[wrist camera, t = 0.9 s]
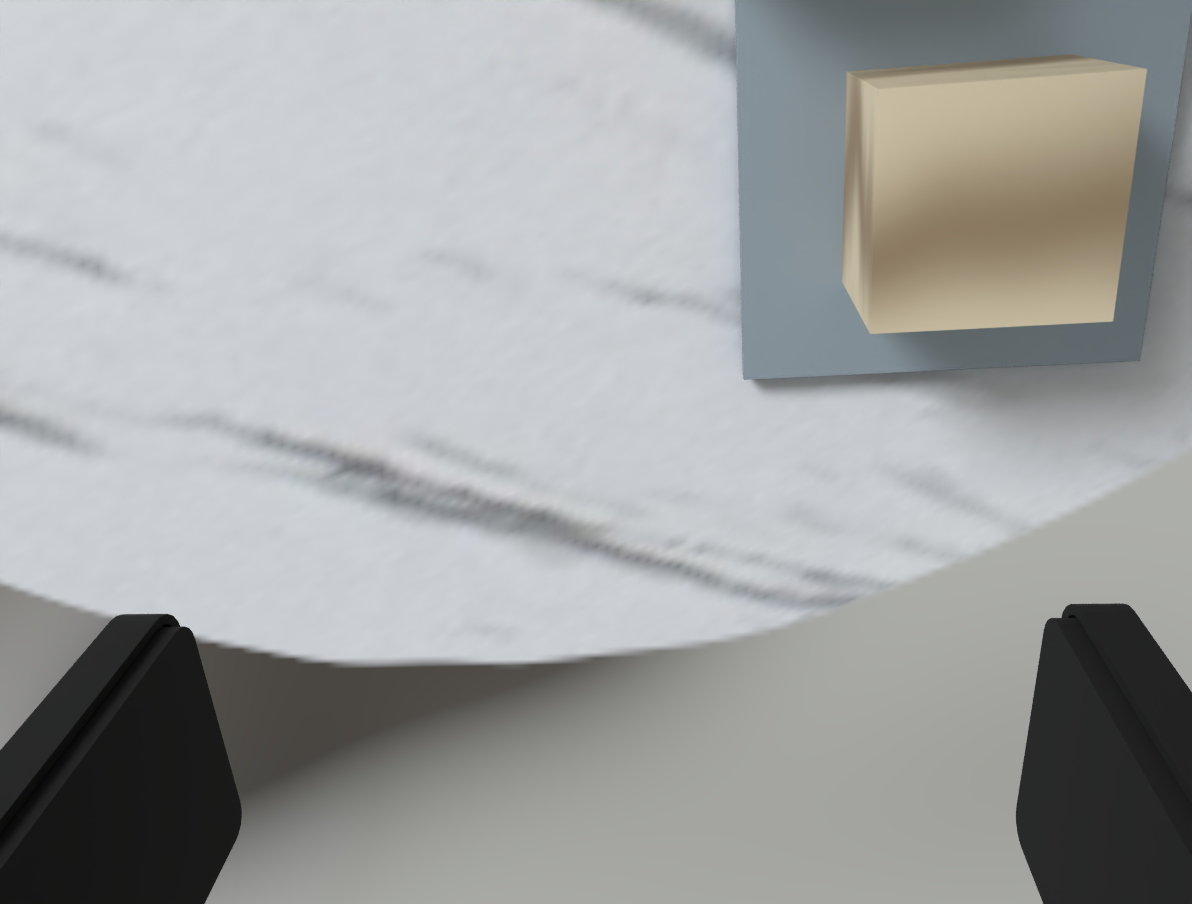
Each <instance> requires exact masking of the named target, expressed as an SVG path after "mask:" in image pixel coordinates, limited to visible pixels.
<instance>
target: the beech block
mask: <svg viewBox="0 0 1192 904" xmlns="http://www.w3.org/2000/svg"><path fill="white" fill-rule="evenodd" d="M1146 74H1147V69H1145V68H1140V67H1135V66H1129V65H1124V64H1119V63H1114V62H1109V61H1104V60H1098V59H1093V58H1088V57H1083V56H1078V55H1072V54H1067V55H1054V56H1041V57H1028V58H1015V59H1002V60H989V61H976V62H963V63H950V64H937V65H924V66H911V67H898V68H885V69H872V70H859V71H847V72H846V119H845V167H844V214H843V261H842V283H843V285H844V287H845V288H846V290H847V292H848V294H849V296H850V298H851V300H852V301H853V303H854V305H855V307H856V309H857V311H858V312H859V314H860V316H861V318H862V320H863V322H864V324H865V325H866V327H867V329H868V331H869V333H870V334H881V333H900V332H919V331H939V330H958V329H978V328H997V327H1016V326H1036V325H1055V324H1075V323H1094V322H1113V318H1114V310H1115V303H1116V295H1117V288H1118V281H1119V273H1120V266H1121V259H1122V251H1123V244H1124V236H1125V229H1126V222H1127V214H1128V207H1129V199H1130V192H1131V185H1132V177H1133V170H1134V163H1135V155H1136V148H1137V140H1138V133H1139V126H1140V118H1141V111H1142V104H1143V96H1144V89H1145V81H1146Z"/></svg>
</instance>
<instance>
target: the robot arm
mask: <svg viewBox="0 0 1192 904" xmlns="http://www.w3.org/2000/svg"><path fill="white" fill-rule="evenodd" d="M241 813H242V812H241V804H240V799H239V795H238V792H237V788H236V785H235V781H234V778H233V774H232V770H231V767H230V764H229V760H228V756H227V753H226V749H225V745H224V742H223V738H222V735H221V731H220V728H219V724H218V720H217V716H216V713H215V709H214V706H213V702H212V699H211V695H210V691H209V688H208V684H207V680H206V677H205V673H204V670H203V666H202V662H201V659H200V655H199V652H198V648H197V644H196V641H195V638H194V635H193V633H192V631H191V630H190V629H189V628H187V627H180V625H179V622H178V621H177V620H176V619H175V617H174V616H172V615H169V614H123V615H119V616H116V617H115V618H114V619H112V620H111V621H110V622H109V623H108V625H107V626H106V627H105V628H104V629H103V631H102V632H101V633H100V634H99V635H98V636H97V638H96V639H95V640H94V641H93V642H92V644H91V645H90V646H89V647H88V648H87V649H86V651H85V652H84V653H83V654H82V655H81V656H80V658H79V659H78V660H77V661H76V662H75V663H74V665H73V666H72V667H71V668H70V669H69V670H68V672H67V673H66V674H65V675H64V676H63V677H62V679H61V680H60V681H59V682H58V684H57V685H56V686H55V687H54V688H53V689H52V690H51V692H50V693H49V694H48V695H47V696H46V698H45V699H44V700H43V701H42V702H41V703H40V704H39V706H38V707H37V708H36V709H35V710H34V712H33V713H32V714H31V715H30V716H29V717H28V719H27V720H26V721H25V722H24V723H23V725H22V726H21V727H20V728H19V729H18V730H17V731H16V733H15V734H14V735H13V736H12V737H11V739H10V740H9V741H8V742H7V743H6V744H5V746H4V747H3V748H2V749H1V750H0V904H204V903H205V901H206V899H207V897H208V895H209V893H210V891H211V889H212V887H213V885H214V883H215V881H216V879H217V877H218V875H219V873H220V871H221V869H222V867H223V865H224V863H225V861H226V859H227V857H228V855H229V853H230V851H231V849H232V847H233V845H234V843H235V841H236V839H237V836H238V833H239V830H240V826H241V817H242V816H241V815H242V814H241ZM1016 824H1017V832H1018V837H1019V841H1020V844H1021V847H1022V850H1023V853H1024V855H1025V858H1026V860H1027V863H1028V865H1029V868H1030V870H1031V873H1032V876H1033V878H1034V881H1035V883H1036V886H1037V888H1038V891H1039V893H1040V896H1041V898H1042V901H1043V904H1192V692H1191V691H1190V689H1189V688H1188V686H1187V685H1186V684H1185V682H1184V681H1183V679H1182V678H1181V676H1180V675H1179V674H1178V672H1177V671H1176V669H1175V668H1174V667H1173V665H1172V664H1171V662H1170V661H1169V659H1168V658H1167V657H1166V655H1165V654H1164V652H1163V651H1162V649H1161V648H1160V647H1159V645H1158V644H1157V642H1156V641H1155V640H1154V638H1153V637H1152V635H1151V634H1150V632H1149V631H1148V630H1147V628H1146V627H1145V626H1144V624H1143V623H1142V621H1141V620H1140V618H1139V617H1138V615H1137V614H1136V613H1135V611H1134V610H1133V609H1132V608H1131V607H1130V606H1129V605H1126V604H1070V605H1068V606H1067V607H1066V608H1065V610H1064V611H1063V614H1062V618H1050V619H1049V620H1048V621H1047V622H1046V624H1045V629H1044V633H1043V639H1042V646H1041V652H1040V659H1039V665H1038V672H1037V678H1036V685H1035V691H1034V697H1033V704H1032V710H1031V717H1030V723H1029V730H1028V736H1027V743H1026V749H1025V756H1024V762H1023V769H1022V775H1021V781H1020V788H1019V794H1018V801H1017V808H1016Z"/></svg>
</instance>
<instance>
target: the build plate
mask: <svg viewBox="0 0 1192 904" xmlns="http://www.w3.org/2000/svg"><path fill="white" fill-rule="evenodd" d="M1191 14H1192V0H735V23H736V71H737V119H738V168H739V216H740V264H741V312H742V360H743V378H744V380H749V379H770V378H791V377H812V376H833V375H854V374H875V373H895V372H916V371H937V370H958V369H979V368H1000V367H1021V366H1042V365H1063V364H1084V363H1104V362H1125V361H1140V356H1141V349H1142V343H1143V336H1144V329H1145V322H1146V316H1147V309H1148V302H1149V296H1150V289H1151V282H1152V276H1153V269H1154V262H1155V255H1156V249H1157V242H1158V235H1159V229H1160V222H1161V215H1162V209H1163V202H1164V195H1165V188H1166V182H1167V175H1168V168H1169V162H1170V155H1171V148H1172V142H1173V135H1174V128H1175V121H1176V115H1177V108H1178V101H1179V95H1180V88H1181V81H1182V75H1183V68H1184V61H1185V54H1186V48H1187V41H1188V34H1189V28H1190V21H1191ZM1067 54H1072V55H1078V56H1083V57H1088V58H1093V59H1098V60H1104V61H1109V62H1114V63H1119V64H1124V65H1129V66H1135V67H1140V68H1145V69H1147V74H1146V81H1145V89H1144V96H1143V104H1142V111H1141V118H1140V126H1139V133H1138V140H1137V148H1136V155H1135V163H1134V170H1133V177H1132V185H1131V192H1130V199H1129V207H1128V214H1127V222H1126V229H1125V236H1124V244H1123V251H1122V259H1121V266H1120V273H1119V281H1118V288H1117V295H1116V303H1115V310H1114V318H1113V322H1094V323H1075V324H1055V325H1036V326H1016V327H997V328H978V329H958V330H939V331H919V332H900V333H881V334H870V333H869V331H868V329H867V327H866V325H865V324H864V322H863V320H862V318H861V316H860V314H859V312H858V311H857V309H856V307H855V305H854V303H853V301H852V300H851V298H850V296H849V294H848V292H847V290H846V288H845V287H844V285H843V283H842V261H843V214H844V167H845V119H846V72H847V71H859V70H872V69H885V68H898V67H911V66H924V65H937V64H950V63H963V62H976V61H989V60H1002V59H1015V58H1028V57H1041V56H1054V55H1067Z"/></svg>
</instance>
